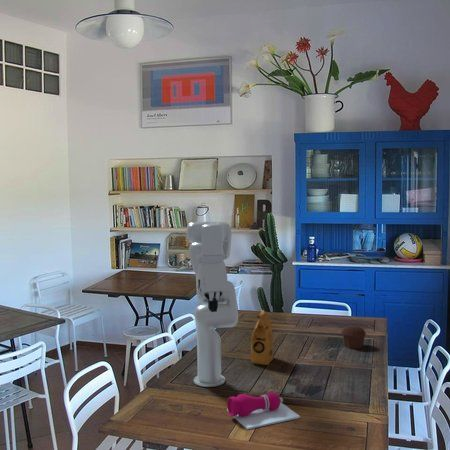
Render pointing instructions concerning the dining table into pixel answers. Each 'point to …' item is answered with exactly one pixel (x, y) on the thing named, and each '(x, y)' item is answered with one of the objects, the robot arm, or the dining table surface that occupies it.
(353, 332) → the muffin
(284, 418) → the mat
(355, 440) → the dining table surface
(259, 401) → the pepper mill
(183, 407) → the dining table surface
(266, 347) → the coffee package
